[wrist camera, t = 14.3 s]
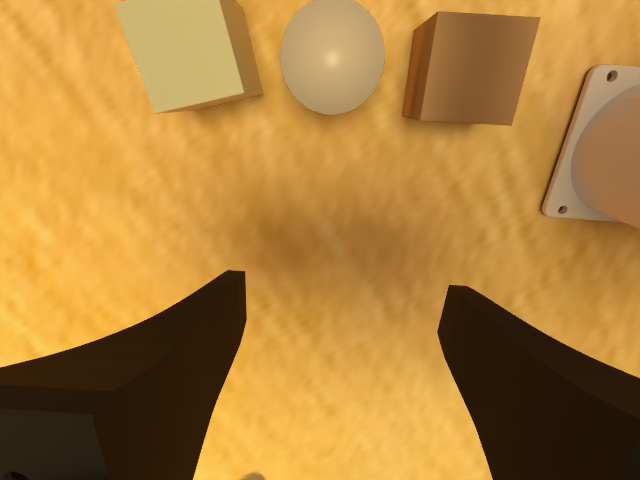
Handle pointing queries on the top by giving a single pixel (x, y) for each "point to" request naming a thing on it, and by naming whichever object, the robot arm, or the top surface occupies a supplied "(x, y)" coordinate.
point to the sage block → (190, 52)
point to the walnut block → (468, 67)
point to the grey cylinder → (332, 55)
